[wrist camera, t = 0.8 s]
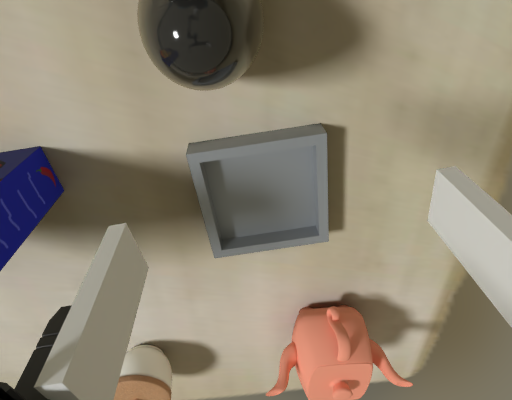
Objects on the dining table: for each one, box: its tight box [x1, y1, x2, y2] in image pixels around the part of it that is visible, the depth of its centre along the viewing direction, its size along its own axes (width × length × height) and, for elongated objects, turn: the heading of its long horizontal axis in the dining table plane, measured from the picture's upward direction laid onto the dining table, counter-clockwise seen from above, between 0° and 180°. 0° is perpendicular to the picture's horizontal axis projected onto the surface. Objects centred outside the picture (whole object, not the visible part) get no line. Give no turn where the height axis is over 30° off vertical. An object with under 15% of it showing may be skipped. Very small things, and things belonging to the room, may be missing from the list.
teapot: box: [266, 305, 413, 400], centre depth 53 cm, size 15×17×13 cm
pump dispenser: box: [137, 0, 264, 91], centre depth 25 cm, size 10×10×15 cm
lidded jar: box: [114, 344, 172, 400], centre depth 56 cm, size 11×11×9 cm
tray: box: [186, 123, 329, 258], centre depth 41 cm, size 15×15×3 cm
